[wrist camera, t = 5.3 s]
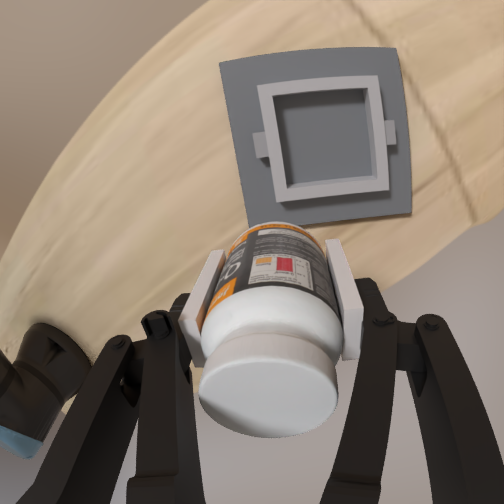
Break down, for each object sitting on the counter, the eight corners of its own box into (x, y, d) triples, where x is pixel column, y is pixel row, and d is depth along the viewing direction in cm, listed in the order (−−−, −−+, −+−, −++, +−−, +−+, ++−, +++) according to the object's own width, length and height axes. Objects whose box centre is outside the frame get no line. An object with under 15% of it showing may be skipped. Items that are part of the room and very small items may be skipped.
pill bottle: (225, 217, 17) (165, 335, 8) (330, 220, 17) (373, 345, 8) (230, 302, 20) (193, 437, 11) (321, 306, 19) (336, 445, 10)
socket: (250, 228, 34) (248, 238, 31) (220, 64, 27) (215, 59, 24) (408, 209, 31) (417, 217, 29) (392, 49, 24) (402, 44, 22)
